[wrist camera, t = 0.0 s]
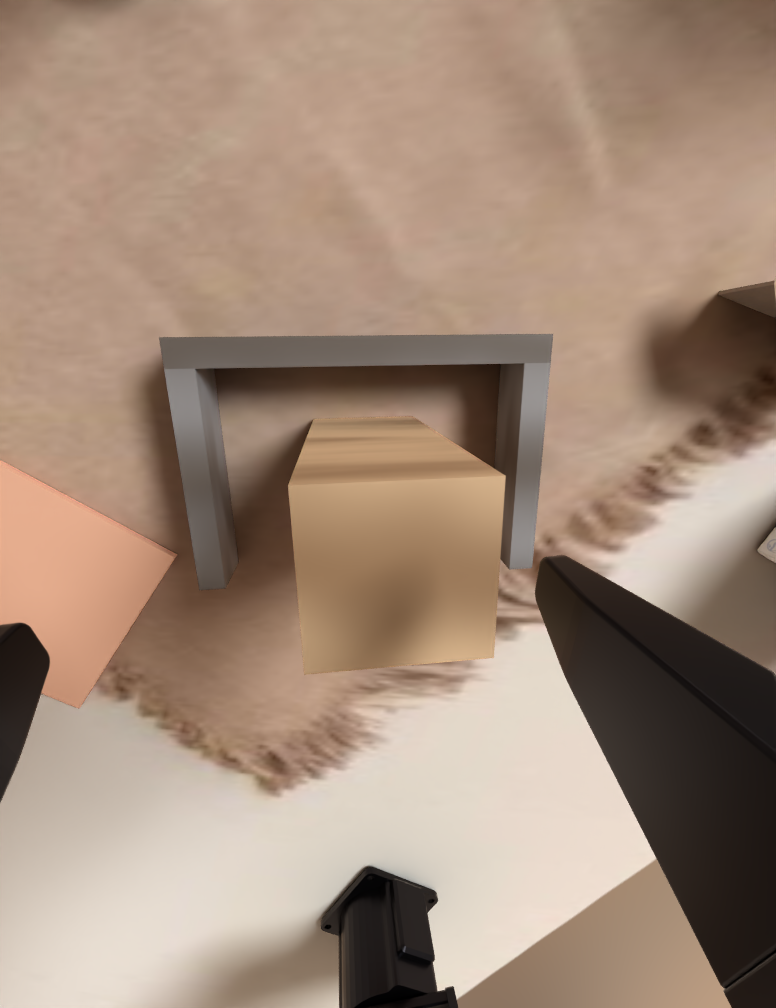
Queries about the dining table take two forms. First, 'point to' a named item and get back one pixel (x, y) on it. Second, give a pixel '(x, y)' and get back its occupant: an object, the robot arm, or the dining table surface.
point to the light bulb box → (769, 546)
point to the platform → (755, 297)
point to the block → (393, 546)
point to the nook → (198, 357)
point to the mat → (71, 579)
